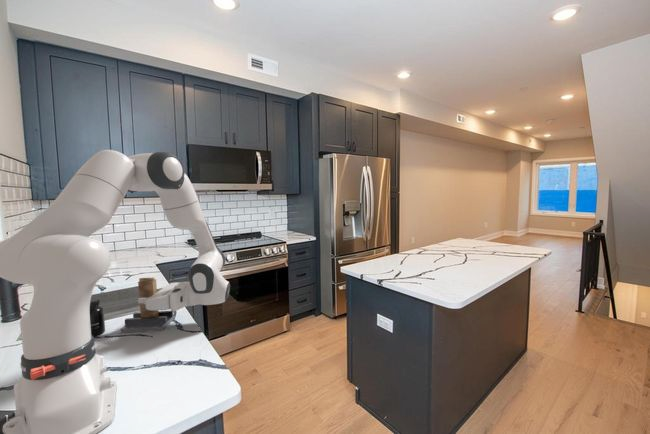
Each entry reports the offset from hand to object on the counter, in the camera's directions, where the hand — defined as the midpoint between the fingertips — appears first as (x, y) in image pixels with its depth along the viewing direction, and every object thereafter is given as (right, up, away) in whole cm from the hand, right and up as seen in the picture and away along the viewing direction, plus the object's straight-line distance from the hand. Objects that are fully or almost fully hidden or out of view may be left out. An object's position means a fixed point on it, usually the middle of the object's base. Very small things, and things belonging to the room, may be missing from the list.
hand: (145, 295), depth 105 cm
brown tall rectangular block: (+1, -9, +1) cm, 9 cm away
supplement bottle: (-14, -12, -6) cm, 20 cm away
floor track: (+1, -11, +1) cm, 11 cm away
